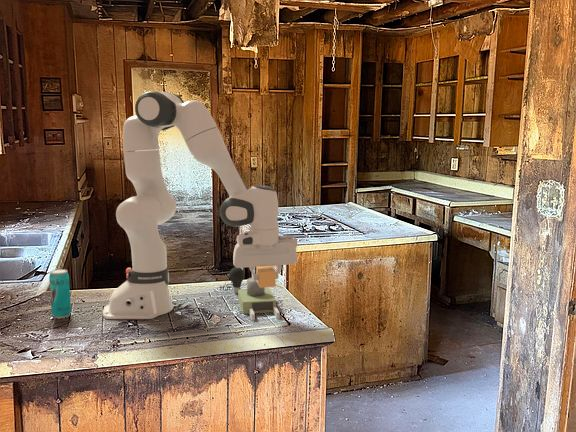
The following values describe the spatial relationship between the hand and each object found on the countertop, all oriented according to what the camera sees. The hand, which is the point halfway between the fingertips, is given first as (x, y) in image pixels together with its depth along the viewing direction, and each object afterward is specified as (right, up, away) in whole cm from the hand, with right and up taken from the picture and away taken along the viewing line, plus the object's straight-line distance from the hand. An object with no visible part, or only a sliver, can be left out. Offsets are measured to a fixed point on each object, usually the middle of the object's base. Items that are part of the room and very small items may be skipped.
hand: (265, 279), depth 170 cm
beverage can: (-66, -12, +2) cm, 67 cm away
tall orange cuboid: (0, -2, 0) cm, 2 cm away
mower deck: (-3, -11, +10) cm, 15 cm away
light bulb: (-12, -9, +26) cm, 30 cm away
